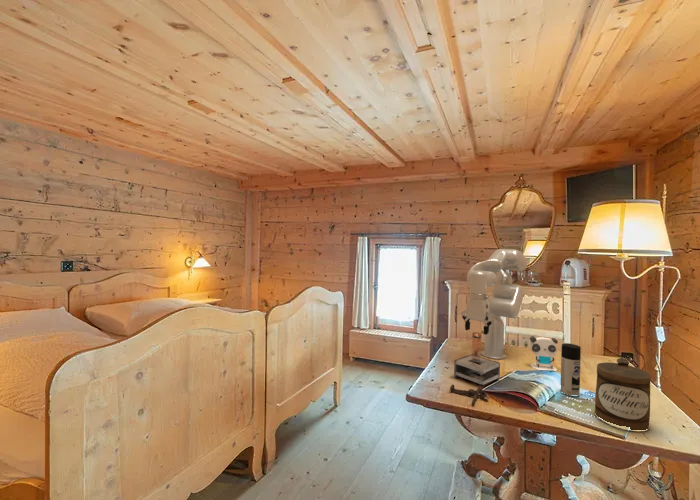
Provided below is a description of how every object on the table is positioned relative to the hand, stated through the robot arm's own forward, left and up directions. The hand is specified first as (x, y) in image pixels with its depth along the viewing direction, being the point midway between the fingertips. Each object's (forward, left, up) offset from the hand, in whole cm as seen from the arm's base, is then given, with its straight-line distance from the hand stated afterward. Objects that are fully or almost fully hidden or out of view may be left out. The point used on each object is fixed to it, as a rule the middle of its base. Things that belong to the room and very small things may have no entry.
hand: (476, 331), depth 165 cm
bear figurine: (+30, +15, -18) cm, 38 cm away
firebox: (+12, +8, -18) cm, 23 cm away
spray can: (-6, +39, -18) cm, 43 cm away
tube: (-1, 0, -18) cm, 18 cm away
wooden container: (+4, +58, -18) cm, 61 cm away
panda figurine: (-29, +20, -18) cm, 39 cm away
